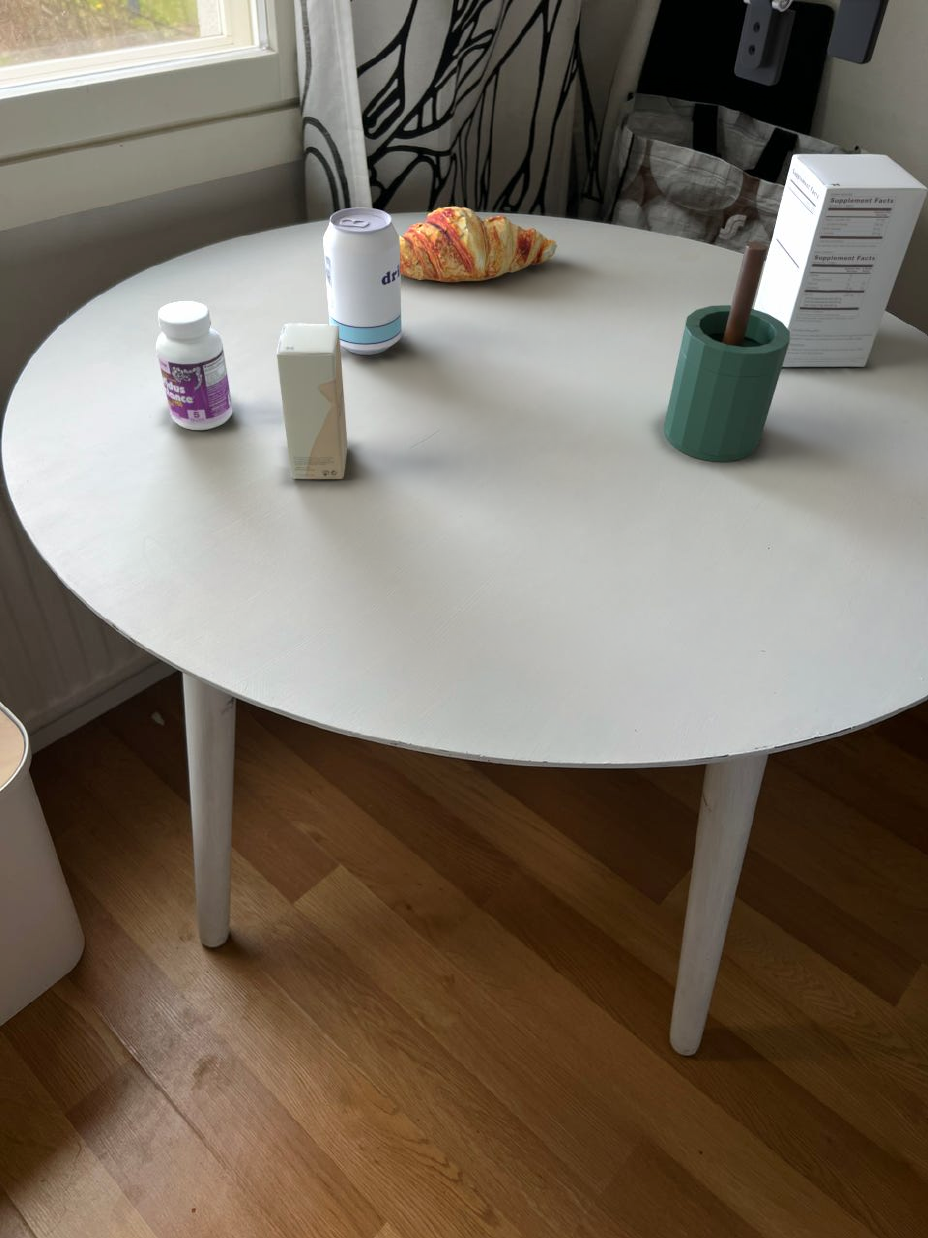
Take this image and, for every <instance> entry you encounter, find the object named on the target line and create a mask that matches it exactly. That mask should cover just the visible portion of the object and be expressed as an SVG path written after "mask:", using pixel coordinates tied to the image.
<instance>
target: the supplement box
mask: <svg viewBox="0 0 928 1238" xmlns="http://www.w3.org/2000/svg"><path fill="white" fill-rule="evenodd" d="M927 194H928V187H927V186H925V185H924V184H923V183H921V182H920V181H919V180H918V179H917V178H916V177H914V176H913V175H912V174H910V173H909V172H908V171H907V170H906V169H904V167H902V166H901V165H900V164H898V163H897V162H896V161H895V160H893V159H892V158H891V157H889V156H888V155H887V154H878V153H860V154H859V153H857V154H855V153H851V154H849V153H848V154H844V153H843V154H841V153H837V154H836V153H795V154H793V155H792V157H791V162H790V166H789V170H788V173H787V177H786V182H785V185H784V189H783V192H782V197H781V201H780V205H779V209H778V214H777V218H776V223H775V226H774V230H773V235H772V238H771V242H770V245H769V247H768V248H769V249H768V251H767V255H766V258H765V262H764V266H763V270H762V274H761V275H762V276H761V278H760V282H759V283H760V285H759V286H758V290H757V291H758V292H757V294H756V298H755V303H754V307H753V309H755V310H758V311H761V312H764V313H767V314H769V315H771V316H773V317H774V318H776V319H778V320H779V321H781V322H782V323H783V324H784V325H785V326H786V328H787V329H788V330H789V332H790V342H789V345H788V349H787V352H786V355H785V359H784V362H783V365H782V368H813V367H814V368H828V367H829V368H837V367H838V368H841V367H842V368H844V367H846V368H847V367H851V368H854V367H855V368H856V367H857V368H858V367H859V368H862V367H863V368H864V367H866V365H867V362H868V359H869V356H870V353H871V350H872V348H873V345H874V342H875V340H876V337H877V334H878V332H879V328H880V325H881V324H882V319H883V318H884V314H885V311H886V309H887V306H888V303H889V300H890V297H891V296H892V295H891V294H892V291H893V289H894V286H895V283H896V280H897V277H898V275H899V273H900V269H901V267H902V264H903V261H904V259H905V255H906V253H907V250H908V247H909V244H910V242H911V238H912V236H913V233H914V230H915V228H916V226H917V225H916V224H917V222H918V219H919V216H920V214H921V211H922V208H923V205H924V202H925V200H926V198H927V197H926V196H927Z"/></svg>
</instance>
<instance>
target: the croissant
mask: <svg viewBox="0 0 928 1238" xmlns="http://www.w3.org/2000/svg"><path fill="white" fill-rule="evenodd" d="M399 238H400V274H402V275H403V276H405V277H408V278H411V279H416V280H418V281H423V280H428V281H436V282H442V283H456V284H457V283H459V282H481V281H487V280H490V279H495V278H498V277H500V276H503V275H504V274H506V273H511V274H512V273H516V272H519V271H521V270H522V269H525V268H527V267H529V266H530V265H532V266H533V265H535V266H538V265H540V264H542V263H544V262H547V261H548V260H551V258H553V256H554V255H555V253H556V250H557V247H558V244H557V242H556V241H555V239H548V238H547V237H546V236H545V235H543V234H542V233H541V232H540V231H537V230H536V229H535V228H533V227H531V228H527V229H525V228H522V227H521V226H520V225H518V224H516V223H512V222H511V220H510V219H509V218H507V217H506V216H505V215H503V214H501V215H496V216H493V217H491V216H487V217H485V219H484V220H483V219H482V218H480V216H479V215H477V214H476V212H475V211H473V210H472V209H471V208H467V207H459V206H447V207H438V208H436V209H435V210H433V211H432V212H430V213H428V214H427V218H426V220H425V221H424V222H417V223H413V224H411V225H410V226H409V228H408V229H407V230H406V232H405V233H404V235H403V236H401V235H399Z"/></svg>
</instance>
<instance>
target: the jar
mask: <svg viewBox="0 0 928 1238" xmlns="http://www.w3.org/2000/svg"><path fill="white" fill-rule="evenodd" d="M730 309H731V305H730V304H726V305H725V304H724V305H723V304H721V305H709V306H706V307H702V308H698V309H695V310H694V311H693V312H691V313H690V314H689V315H688V316H686V319H685V324H684V329H683V333H682V339H681V343H680V348H679V353H678V358H677V364H676V368H675V372H674V376H673V381H672V387H671V391H670V396H669V400H668V405H667V410H666V415H665V419H664V424H663V434H664V436H665V439H666V440H667V441H668V443H669V444H670V445H671V446H672V447H674V448H675V449H677V450H678V451H680V452H681V453H683V454H685V455H687V456H690V457H693V458H696V459H699V460H704V461H709V462H719V463H721V462H724V463H725V462H735V461H739V460H743V459H745V458H747V457H749V456H751V455H752V454H753V453H755V451H756V450H757V448H758V446H759V443H760V442H761V438H762V435H763V432H764V428H765V425H766V423H767V419H768V416H769V412H770V409H771V406H772V401H773V398H774V395H775V392H776V388H777V386H778V382H779V378H780V375H781V371H782V369H783V367H782V365H783V362H784V359H785V355H786V352H787V349H788V345H789V342H790V332H789V330H788V329H787V328H786V326H785V325H784V324H783V323H782V322H781V321H779V320H778V319H776V318H774V317H773V316H771V315H769V314H767V313H764V312H761V311H758V310H755V309H754V308H752V310H751V314H750V318H749V322H748V326H747V329H746V333H745V337H744V341H743V345H742V347H739V346H732V345H726V344H724V343H722V342H723V338H724V334H725V330H726V325H727V321H728V317H729V313H730Z"/></svg>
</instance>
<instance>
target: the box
mask: <svg viewBox="0 0 928 1238" xmlns="http://www.w3.org/2000/svg"><path fill="white" fill-rule="evenodd" d="M341 349H342V348H341V346H340V335H339V325H333V324H330V323H284V324H283V327H282V330H281V333H280V336H279V341H278V346H277V351H276V360H277V361H276V362H277V371H278V378H279V380H278V381H279V386H280V387H279V388H280V396H281V404H282V412H283V417H284V418H283V420H284V426H285V427H284V429H285V435H286V441H287V442H286V443H287V451H288V460H289V467H290V474H291V475H290V476H291V479H293V480H343V479H344V477H345V472H346V471H345V470H346V463H347V456H348V433H347V432H348V431H347V420H346V404H345V393H344V392H345V391H344V377H343V365H342V364H343V363H342V353H341V351H342V350H341Z"/></svg>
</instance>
